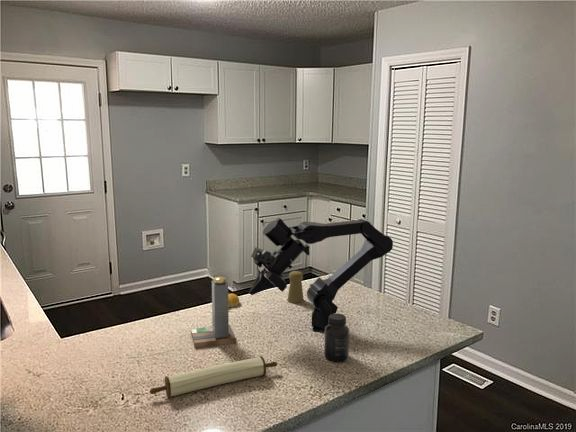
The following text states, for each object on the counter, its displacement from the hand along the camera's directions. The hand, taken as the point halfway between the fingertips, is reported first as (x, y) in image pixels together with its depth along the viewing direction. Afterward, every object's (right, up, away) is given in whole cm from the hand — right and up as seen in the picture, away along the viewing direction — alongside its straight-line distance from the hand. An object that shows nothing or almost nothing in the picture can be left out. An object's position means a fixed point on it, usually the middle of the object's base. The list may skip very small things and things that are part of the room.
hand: (250, 293), depth 141 cm
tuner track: (-11, -13, +1) cm, 18 cm away
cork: (+14, -8, +33) cm, 37 cm away
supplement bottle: (+25, -16, -10) cm, 31 cm away
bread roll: (-11, -9, +28) cm, 32 cm away
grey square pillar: (-9, -11, +1) cm, 15 cm away
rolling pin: (-6, -19, -24) cm, 31 cm away
